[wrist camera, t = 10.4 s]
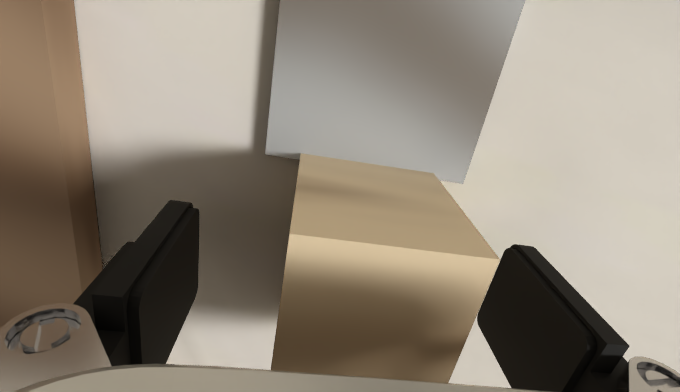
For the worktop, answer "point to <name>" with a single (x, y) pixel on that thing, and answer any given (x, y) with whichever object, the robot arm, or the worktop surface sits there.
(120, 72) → the worktop surface
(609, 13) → the worktop surface
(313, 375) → the robot arm
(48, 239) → the board
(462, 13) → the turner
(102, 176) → the worktop surface
